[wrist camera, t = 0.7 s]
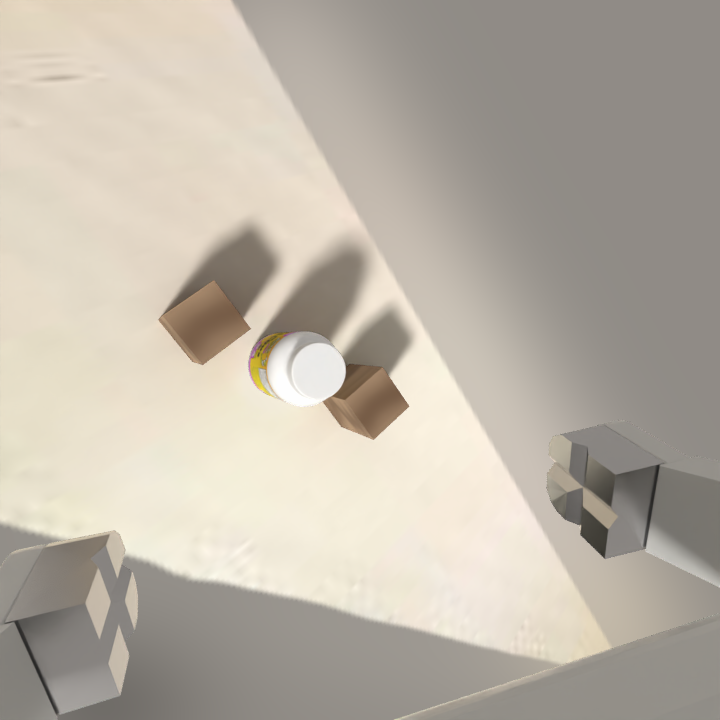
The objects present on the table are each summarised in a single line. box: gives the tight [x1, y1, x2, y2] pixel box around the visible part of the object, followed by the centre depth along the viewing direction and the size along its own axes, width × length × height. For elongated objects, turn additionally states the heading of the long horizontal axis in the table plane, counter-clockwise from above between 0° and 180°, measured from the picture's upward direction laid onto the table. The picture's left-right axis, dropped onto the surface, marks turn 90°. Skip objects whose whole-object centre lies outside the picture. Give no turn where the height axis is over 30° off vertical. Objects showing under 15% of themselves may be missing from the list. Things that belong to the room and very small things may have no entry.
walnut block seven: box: [323, 364, 409, 440], centre depth 50 cm, size 5×5×8 cm
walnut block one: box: [159, 280, 251, 365], centre depth 43 cm, size 5×5×8 cm
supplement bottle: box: [248, 331, 346, 407], centre depth 45 cm, size 7×7×13 cm
